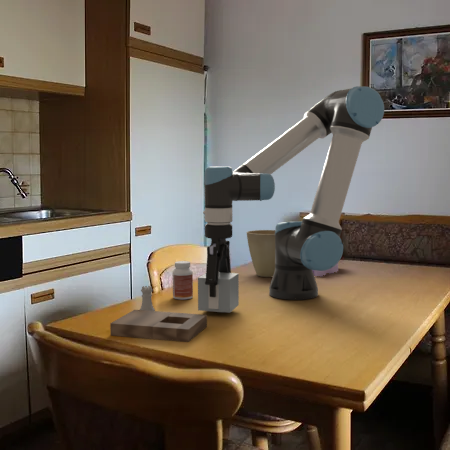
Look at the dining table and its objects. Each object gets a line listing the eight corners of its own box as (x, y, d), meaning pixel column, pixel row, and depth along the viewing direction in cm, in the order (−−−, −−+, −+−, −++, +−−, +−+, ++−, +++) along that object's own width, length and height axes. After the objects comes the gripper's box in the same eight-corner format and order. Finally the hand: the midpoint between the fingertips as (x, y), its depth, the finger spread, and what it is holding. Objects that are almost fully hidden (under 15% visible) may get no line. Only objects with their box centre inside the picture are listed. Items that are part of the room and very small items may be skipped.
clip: (326, 278, 223) (326, 259, 222) (294, 275, 228) (294, 256, 228) (343, 269, 240) (343, 251, 239) (312, 266, 246) (312, 249, 245)
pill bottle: (196, 298, 190) (196, 262, 189) (179, 301, 187) (178, 264, 186) (186, 294, 195) (186, 259, 194) (169, 297, 192) (168, 261, 191)
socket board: (206, 326, 159) (206, 314, 158) (188, 341, 145) (188, 329, 145) (134, 320, 164) (134, 309, 164) (110, 335, 151) (110, 323, 151)
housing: (238, 304, 175) (238, 273, 174) (230, 312, 167) (229, 279, 166) (208, 302, 178) (207, 271, 177) (198, 310, 169) (197, 277, 168)
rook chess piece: (139, 313, 172) (138, 285, 171) (155, 313, 172) (155, 284, 171) (138, 317, 167) (137, 288, 166) (155, 317, 168) (154, 288, 167)
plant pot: (295, 275, 227) (296, 231, 226) (268, 280, 217) (268, 235, 215) (265, 269, 238) (265, 228, 236) (238, 275, 228) (237, 231, 226)
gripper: (216, 219, 181) (217, 295, 184) (192, 227, 160) (193, 312, 163) (241, 219, 179) (241, 296, 181) (220, 227, 158) (220, 314, 161)
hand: (218, 304), depth 172 cm, fingers closed on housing, 9 cm apart
